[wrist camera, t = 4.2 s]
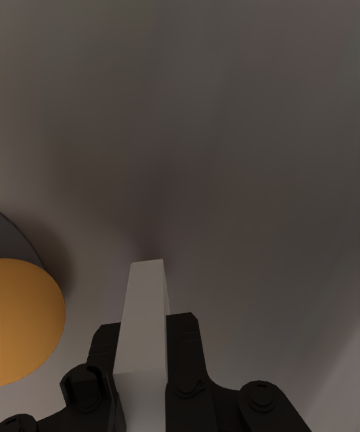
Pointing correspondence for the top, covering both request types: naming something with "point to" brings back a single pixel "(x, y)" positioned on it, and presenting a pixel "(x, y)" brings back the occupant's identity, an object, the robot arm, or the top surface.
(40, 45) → the top surface
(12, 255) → the disc
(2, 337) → the ball
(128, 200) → the top surface
